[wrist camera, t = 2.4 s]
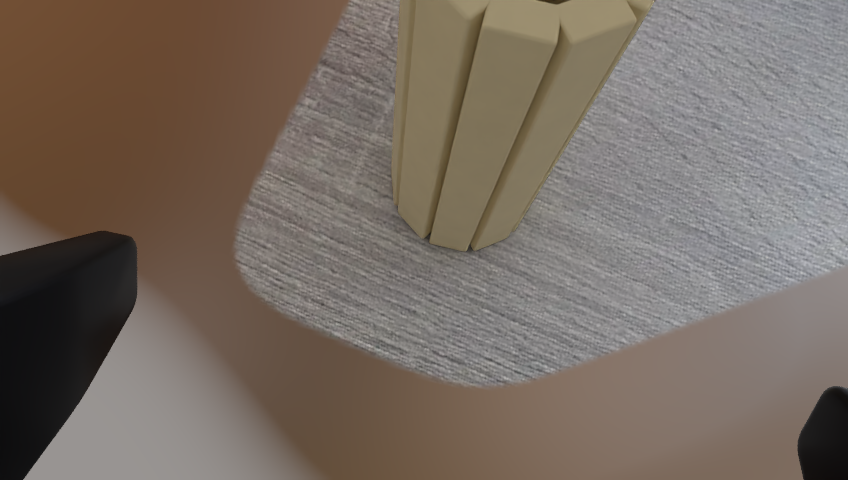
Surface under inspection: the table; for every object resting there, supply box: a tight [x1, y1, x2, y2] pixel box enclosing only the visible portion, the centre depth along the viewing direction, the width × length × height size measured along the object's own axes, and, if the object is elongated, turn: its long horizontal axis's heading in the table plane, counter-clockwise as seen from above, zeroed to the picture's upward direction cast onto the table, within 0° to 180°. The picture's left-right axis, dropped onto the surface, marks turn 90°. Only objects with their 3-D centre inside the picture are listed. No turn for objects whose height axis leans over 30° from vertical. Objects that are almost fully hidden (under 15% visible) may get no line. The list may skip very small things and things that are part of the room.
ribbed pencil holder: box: [391, 0, 655, 252], centre depth 18 cm, size 5×5×12 cm
